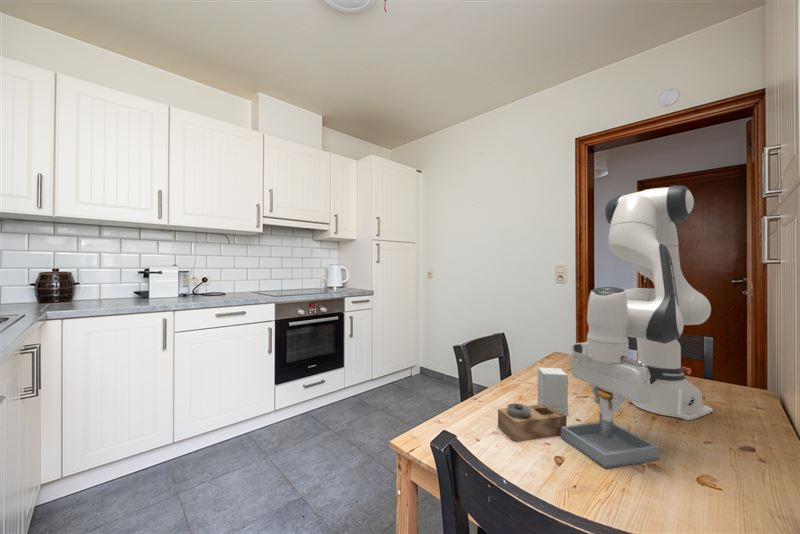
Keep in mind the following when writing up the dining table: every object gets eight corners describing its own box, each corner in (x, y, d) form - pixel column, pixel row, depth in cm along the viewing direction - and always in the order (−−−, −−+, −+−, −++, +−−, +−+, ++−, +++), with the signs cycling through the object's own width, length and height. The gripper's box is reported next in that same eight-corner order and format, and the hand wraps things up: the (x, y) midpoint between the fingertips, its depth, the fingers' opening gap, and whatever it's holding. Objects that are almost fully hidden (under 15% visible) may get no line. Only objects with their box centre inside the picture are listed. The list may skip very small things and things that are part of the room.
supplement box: (568, 416, 97) (568, 375, 98) (542, 414, 99) (542, 373, 99) (561, 406, 105) (561, 368, 105) (537, 404, 106) (537, 366, 106)
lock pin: (605, 430, 82) (606, 387, 82) (619, 438, 78) (620, 393, 79) (592, 432, 81) (593, 388, 82) (606, 440, 77) (607, 394, 78)
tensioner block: (546, 421, 94) (546, 395, 94) (566, 434, 87) (566, 407, 87) (497, 426, 90) (498, 400, 91) (514, 441, 83) (514, 412, 83)
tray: (608, 431, 88) (608, 420, 89) (658, 459, 75) (658, 446, 75) (560, 438, 85) (561, 426, 85) (605, 468, 72) (605, 455, 72)
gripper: (659, 362, 71) (658, 425, 71) (585, 342, 91) (584, 391, 91) (636, 364, 69) (636, 427, 69) (566, 343, 89) (566, 392, 89)
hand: (606, 406), depth 80 cm, fingers closed on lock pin, 3 cm apart
